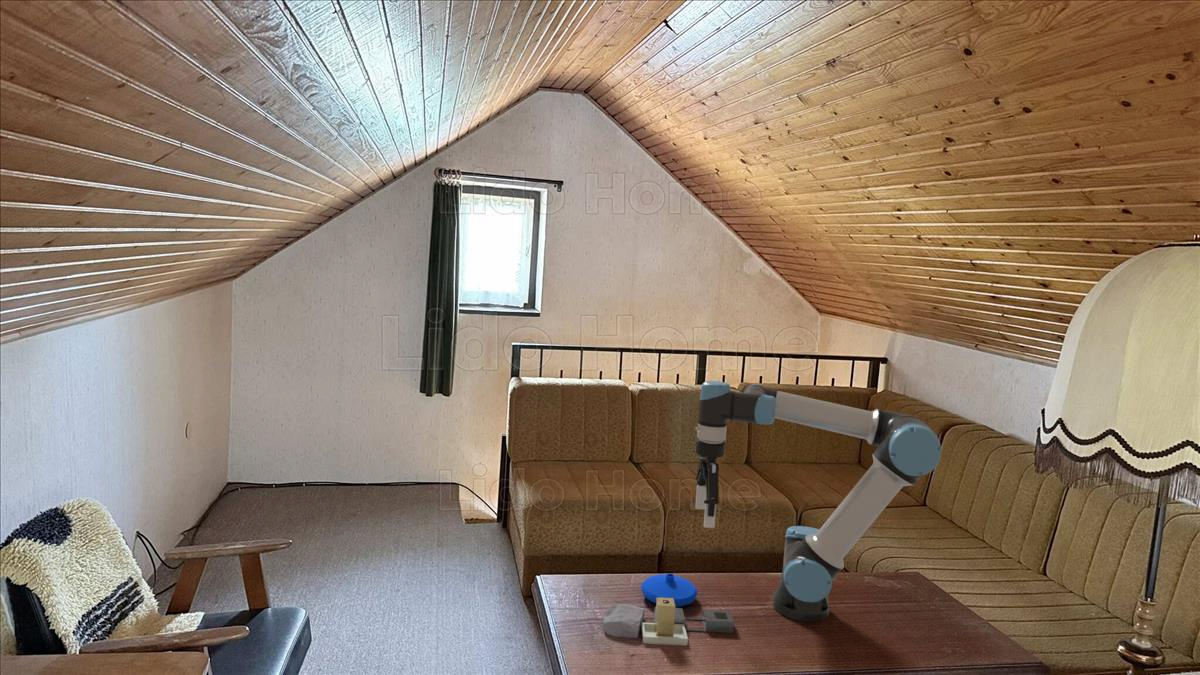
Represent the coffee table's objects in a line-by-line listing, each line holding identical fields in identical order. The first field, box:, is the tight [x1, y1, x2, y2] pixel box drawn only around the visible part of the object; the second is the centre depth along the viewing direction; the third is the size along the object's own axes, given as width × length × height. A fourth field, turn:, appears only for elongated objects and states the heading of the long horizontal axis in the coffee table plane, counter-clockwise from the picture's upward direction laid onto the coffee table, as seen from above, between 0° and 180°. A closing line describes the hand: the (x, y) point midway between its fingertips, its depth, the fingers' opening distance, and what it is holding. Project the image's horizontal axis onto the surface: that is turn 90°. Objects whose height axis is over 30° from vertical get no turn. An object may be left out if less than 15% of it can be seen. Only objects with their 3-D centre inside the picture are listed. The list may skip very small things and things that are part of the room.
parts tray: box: [640, 621, 689, 647], centre depth 182 cm, size 11×7×2 cm, turn 92°
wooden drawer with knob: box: [654, 597, 676, 637], centre depth 181 cm, size 4×4×9 cm
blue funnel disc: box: [640, 573, 698, 608], centre depth 202 cm, size 16×16×7 cm
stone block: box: [602, 603, 645, 640], centre depth 186 cm, size 12×5×10 cm
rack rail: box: [653, 606, 735, 634], centre depth 189 cm, size 20×6×3 cm, turn 92°
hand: (704, 517), depth 193 cm, fingers open, 13 cm apart
